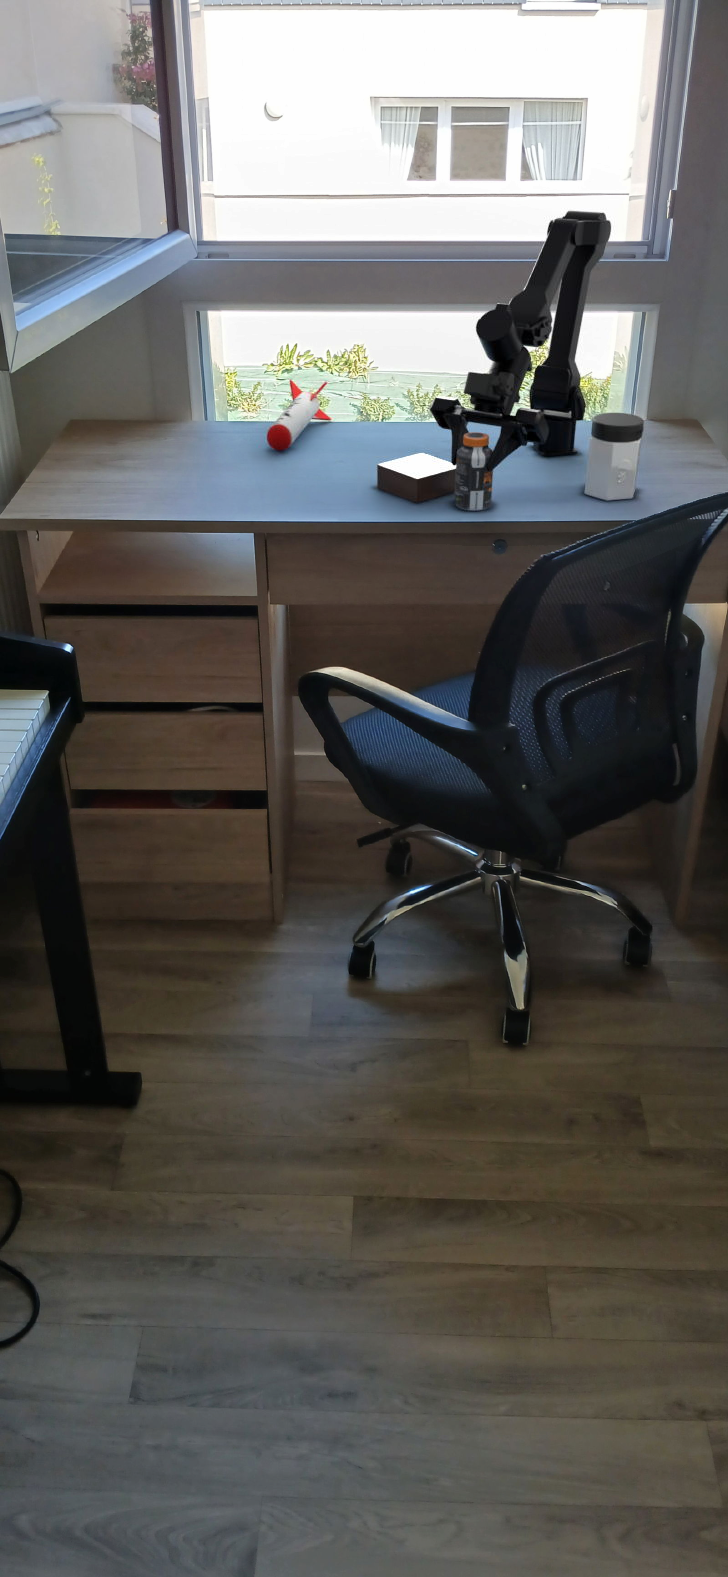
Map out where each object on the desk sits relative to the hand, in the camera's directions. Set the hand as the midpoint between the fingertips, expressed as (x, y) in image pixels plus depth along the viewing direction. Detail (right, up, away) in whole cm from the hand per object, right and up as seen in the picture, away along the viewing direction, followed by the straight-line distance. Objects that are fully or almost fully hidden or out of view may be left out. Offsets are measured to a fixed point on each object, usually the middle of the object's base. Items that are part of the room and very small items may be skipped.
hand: (470, 466), depth 181 cm
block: (-8, 0, +11) cm, 14 cm away
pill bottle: (+1, -5, +5) cm, 7 cm away
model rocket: (-30, +16, +38) cm, 51 cm away
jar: (+24, -2, +10) cm, 26 cm away
